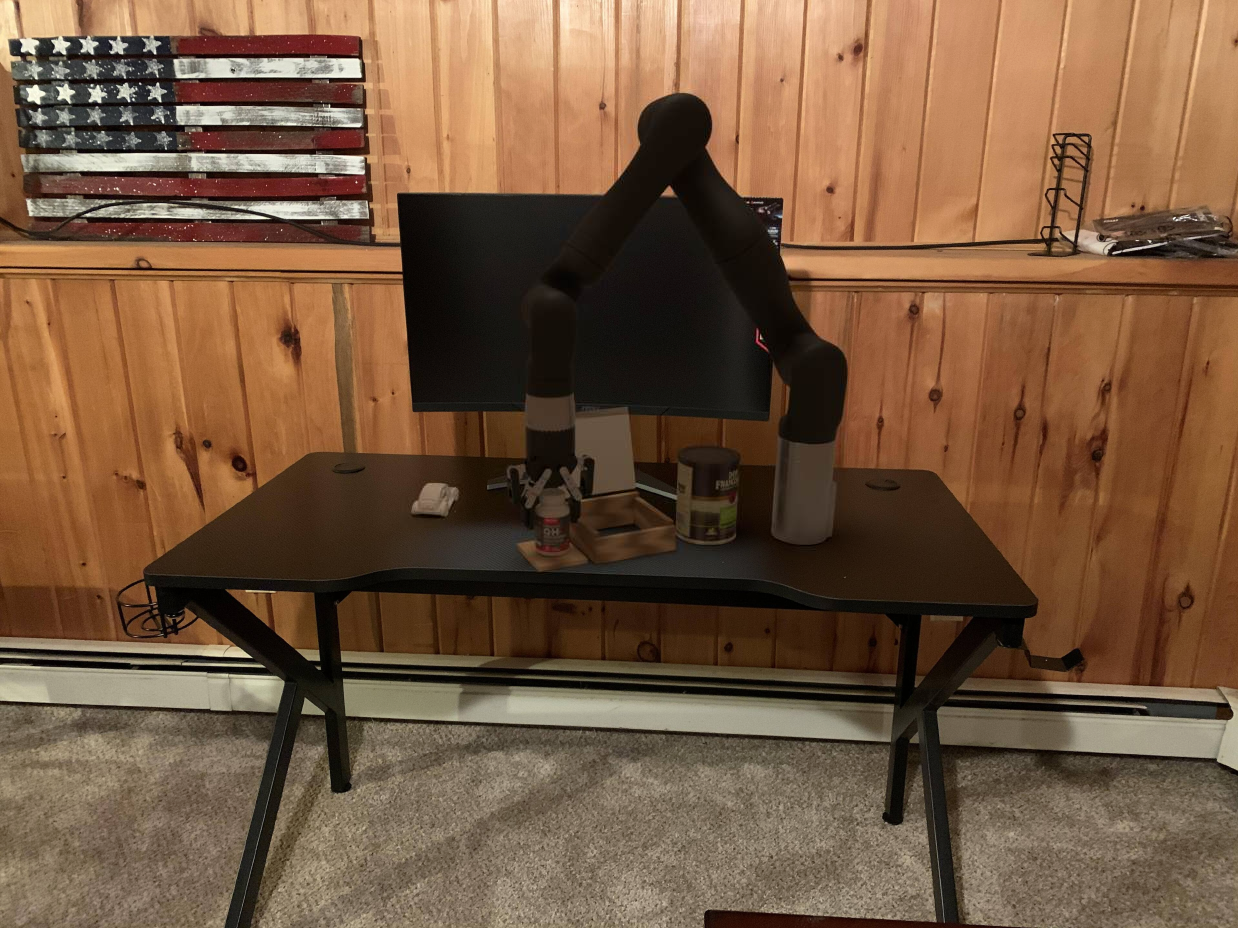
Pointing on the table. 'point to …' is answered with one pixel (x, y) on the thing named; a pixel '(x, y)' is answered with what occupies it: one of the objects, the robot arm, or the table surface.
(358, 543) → the table surface
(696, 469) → the coffee can
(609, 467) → the lid
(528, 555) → the flat wooden board
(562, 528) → the pill bottle
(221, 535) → the table surface
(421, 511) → the car
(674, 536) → the open wooden box
